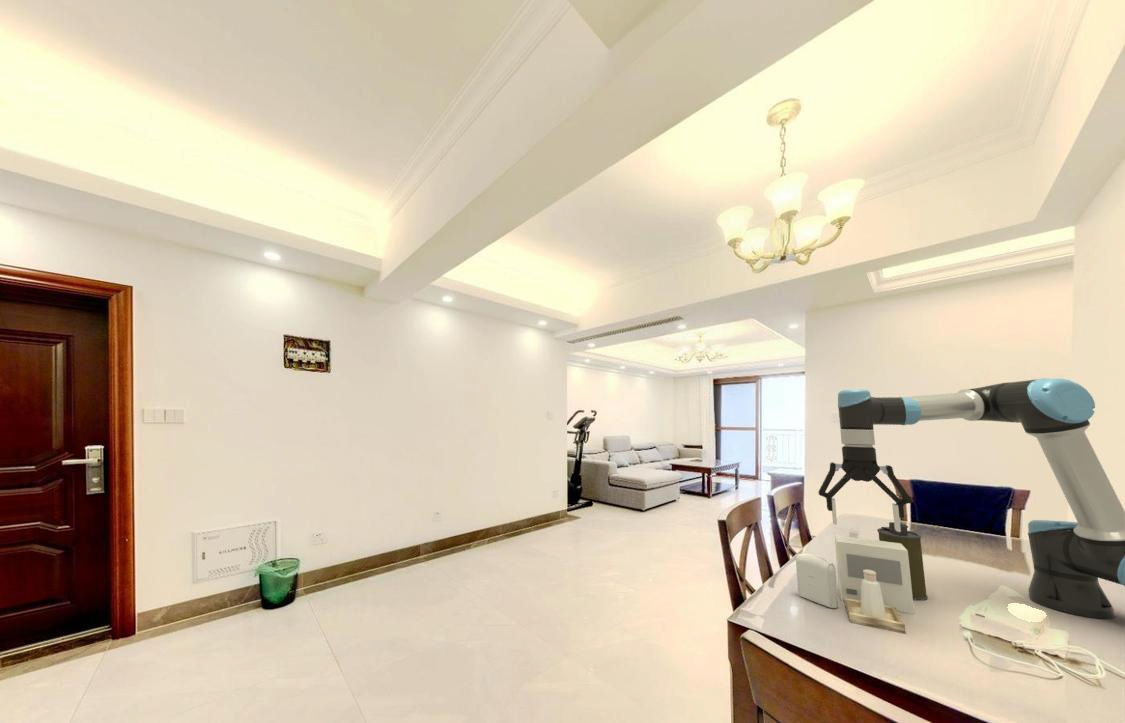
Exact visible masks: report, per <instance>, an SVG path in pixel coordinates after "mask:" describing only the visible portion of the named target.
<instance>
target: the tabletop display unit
mask: <svg viewBox="0 0 1125 723" xmlns="http://www.w3.org/2000/svg"><path fill="white" fill-rule="evenodd" d="M834 544H835V554H836V556H835V558H836V569H837V571H836V572H837V582H838V592H839V596H840V599H841V601H842V602H845V598H847V599H853V600H858V601H861V586H862V579H864V572H863V570H866V569H867V570H872V571H875V572H876V580H877V582H878V583H879V584H880V588H881V593H882V598H883V603H884V605H885V606H890V607H895V608H896V610H897V612H898V613H900V612H901V613H905V614H911V615H915V608H914V607H915V606H914V600H913V596H912V587H911V577H910V567H909V558H908V550H907V549H906V548H905V547H904V546H903V545H902V544H901V543H893V542H885V541H879V540H877V539H869V538H861V537H860V538H859V537H852V536H843V535H837V534H835V535H834Z"/></svg>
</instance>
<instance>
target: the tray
mask: <svg viewBox="0 0 1125 723" xmlns="http://www.w3.org/2000/svg"><path fill="white" fill-rule="evenodd" d="M844 605H845V609H846V612H847V616H848V619H849V623H852V624H857V625H862V626H867V627H872V628H875V629H882V630H887V631H891V632H896V633H899V634H900V633H901V634H905V635H906V634H907V633H906V632H907V631H906V625H905V622H904V621H903V618H902V617H901V616H900V614H899V611H897V610H896V608H895V607H890V606H885V605H884V608H885V612H886V617H887V619H881V618H876V617H871V616H866V615H863V614H862V613H861V601H858V600H853V599H847V598H845V601H844Z"/></svg>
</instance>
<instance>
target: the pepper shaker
mask: <svg viewBox="0 0 1125 723" xmlns="http://www.w3.org/2000/svg"><path fill="white" fill-rule="evenodd" d="M863 572H864V579H862V586H861V613H862V614H863V615H866V616H871V617H876V618H881V619H887V617H886V612H885V608H884V603H883V598H882V593H881V588H880V584H879V583H878V582H877V580H876V572H875V571H872V570H867V569H866V570H863Z"/></svg>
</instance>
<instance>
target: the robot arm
mask: <svg viewBox="0 0 1125 723" xmlns="http://www.w3.org/2000/svg"><path fill="white" fill-rule="evenodd" d="M837 408H838V416H839V417H838V418H839V419H838V420H839V428H840V441H841V442H840V443H841V444H842V445H844V446H842V447H841V454H842V463H835V462H833V461H831V462H830V463H829V470H828V472H827V474H826V476H825V478H824V479H823V482H822V484H821V486H820V488H819V490H818V496H821V497H824V498H825V499H826V500H825V501H826V508H827V510H828V512H831V514H832V515H831V516H832V523H833V525H836V526H837V525H838V519H837V508H836V507H837V506H836V499H835V498H834V496H835V495H836V494H837V493H838V492H839V491H840V490H841V489H842V488H843V487H844V486H845V485H846V484H847V483H848V482H849V481H850V480H852V481H856V482H860V481H862V482H871V481H873V482H874V483H875V484H876V485H878V487H879V488H880V489H881V490H882V491H883V492H884V493H885V494H886V495H888V497H890V498H891V499H892V500H893V501H894V502H895V503H892V513H893V514H892V515H893V522H894V526H895V530H896V531H897V532H901V528H900V523H901V521H900V520H901V519H904V518H905V510H904V508H905V507H904V505H908V504H912V502H913V500H912V498H911V497H910V495H909V494H908V492H907V491H906V490H905V489H904V487H903V486H902V483H901V482H900V481H899V480H898V478H897V476H896V475H895V473H894V469H893V467H892V466H891V465H889V464H885V465H878V462H877V452H876V450H877V449H876V448H875V447H874V446H875V445H876V440H875V431H874V425H875V426H876V425H883V426H885V425H886V426H888V425H889V426H891V425H892V426H893V425H894V426H895V425H896V426H906V425H910V426H911V425H912V426H913V425H916V424H917V423H918V422H921V421H924V422H925V421H936V420H937V421H939V420H953V419H963V420H965V421H969V422H971V421H972V422H974V421H975V422H976V421H988V422H1001V423H1020V424H1021V426H1022V428H1023V429H1024V432H1025V433H1026V434H1028V435H1029V436H1032V437H1034V438H1036V440H1037V441H1038V443H1039V446H1040V448H1041V449H1042V452H1043V454H1044V456H1045V458H1046V460H1047V462H1048V464H1049V466H1050V468H1051V470H1052V472H1053V474H1054V477H1055V478H1056V480H1057V482H1058V484H1059V487H1060V490H1061V491H1062V494H1064V497H1065V499H1066V501H1067V503H1068V506H1069V507H1070V509H1071V511H1072V514H1073V515H1074V516H1073V517H1075V519H1076V521H1067V520H1066V521H1064V520H1063V521H1062V520H1051V519H1050V520H1049V519H1048V520H1046V519H1034V520H1033V519H1032V520H1030V521H1029V522H1028V524H1027V527H1028V531H1027V535H1028V540H1029V546H1030V547H1029V548H1030V553H1031V558H1032V559H1031V560H1032V564H1033V574H1032V577H1031V580H1030V584H1029V586H1028V595H1029V596H1028V597H1030V598H1031V599H1032V600H1031V599H1030V598H1029V599H1030V600H1031V601H1033V602H1034V601H1035V602H1034V603H1036V602H1037V603H1036V604H1039V605H1041V604H1042V605H1041V606H1043V605H1044V606H1043V607H1046V606H1047V608H1049V607H1050V609H1052V608H1053V609H1052V610H1056V609H1057V610H1056V611H1059V610H1060V611H1061V612H1063V611H1064V612H1063V613H1066V614H1067V613H1068V614H1072V615H1077V616H1082V617H1087V618H1094V619H1114V618H1115V612H1114V611H1115V610H1114V606H1113V605H1112V603H1111V601H1110V599H1109V598H1108V597H1107V594H1106V593H1105V591H1104V590H1103V588H1102V587H1101V585H1100V582H1099V579H1101V580H1105V581H1107V582H1112V583H1115V584H1119V585H1121V586H1124V587H1125V509H1124V507H1123V505H1122V504H1121V503H1122V502H1121V501H1120V499H1119V497H1118V495H1117V493H1116V491H1115V489H1114V487H1113V486H1112V483H1111V481H1110V479H1109V477H1108V476H1107V474H1106V472H1105V469H1104V468H1103V465H1102V463H1101V462H1100V460H1099V458H1098V456H1097V454H1096V452H1095V450H1094V448H1093V446H1092V444H1091V442H1090V440H1089V438H1088V436H1087V434H1086V430H1087V429H1088V428H1089V427H1090V425H1091V423H1090V421H1089V419H1091V418H1092V417H1093V415H1094V414H1095V410H1094V409H1095V408H1096V402H1095V400H1094V397H1093V396H1092V394H1091V393H1090V392H1089V391H1088V390H1087V388H1085V387H1083V386H1082V385H1081V384H1079V383H1077V382H1075V381H1071V380H1070V379H1067V378H1038V379H1037V378H1036V379H1027V380H1021V381H1018V380H1017V381H1012V382H1001V383H996V384H990V385H987V386H980V387H975V388H967V389H966V388H964V389H960V390H959V391H957V392H956V393H941V394H939V393H938V394H928V395H927V394H926V395H913V396H911V395H909V396H899V397H895V396H894V397H893V396H892V397H891V396H889V397H885V396H884V397H875V396H872V395H871V392H870V390H868V389H859V388H858V389H855V388H853V389H843V390H840V391H839V392H838V393H837ZM841 469H842V470H843V472H844V473H845V474H844V475H843V476H842V477H841V478H840V480H838V482H836V483H835V484H834V486H832V488H830V490H829V491H828V492H826V491H827V490H828V488H829V485H830V483H831V482H832V480H833V478H834V476H835V473H836V472H838V471H839V470H841ZM880 471H882V473H883V474H885V475H887V476H886V477H888V479H889V480H890V482H891V483H892V485H893V486H894V488H895V489H896V490H897V492H898V494H899V495H900V496H901V497H902V498H899V497H898V495H896V494H895V493H894V492H893V491H892V490H891V489H890V488H889V487H888V486H887V485H886V484H885V483H884V482H882V480H881V479H879V478H878V476H877V475H878V473H879V472H880ZM1060 611H1059V612H1060Z"/></svg>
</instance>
